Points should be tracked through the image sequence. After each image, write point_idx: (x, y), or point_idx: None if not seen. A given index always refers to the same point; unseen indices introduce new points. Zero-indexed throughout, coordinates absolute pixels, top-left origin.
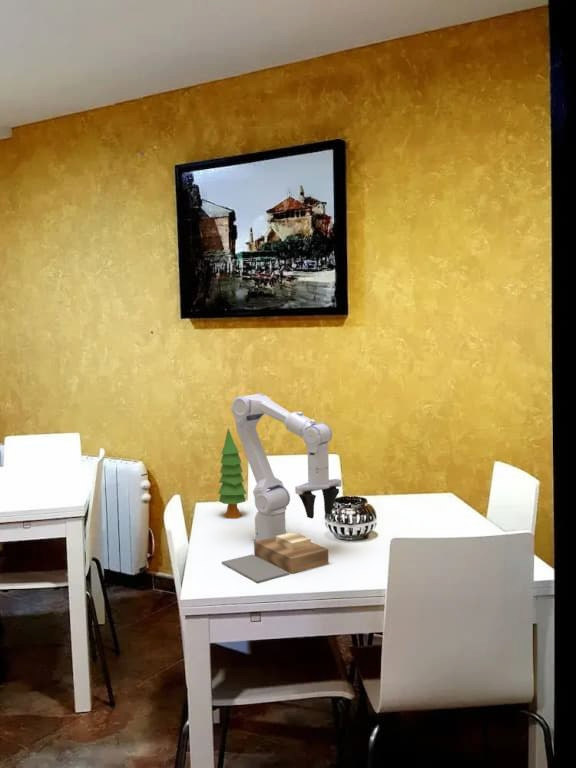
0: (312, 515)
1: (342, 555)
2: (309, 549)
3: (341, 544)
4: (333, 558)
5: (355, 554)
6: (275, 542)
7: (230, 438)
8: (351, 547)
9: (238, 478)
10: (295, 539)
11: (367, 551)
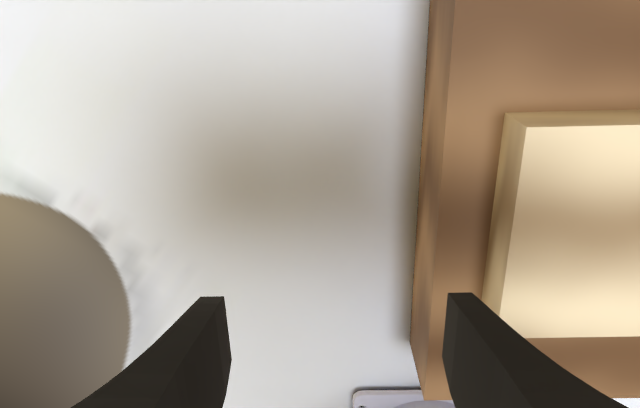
0: (478, 303)
1: (250, 44)
2: (576, 47)
3: (141, 216)
4: (335, 33)
5: (163, 4)
6: None
7: None
8: (114, 136)
9: None
10: (629, 188)
11: (56, 3)
